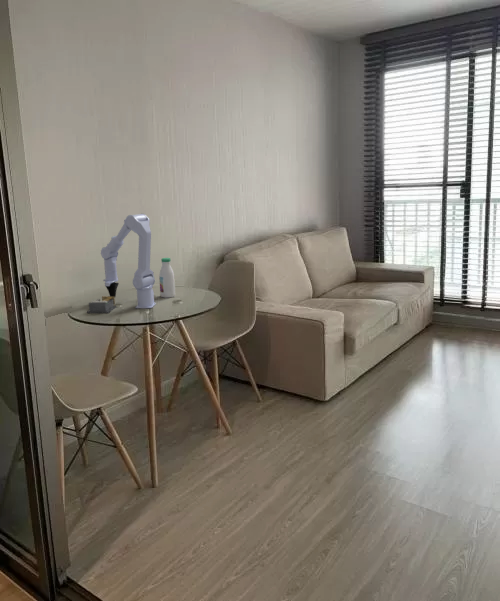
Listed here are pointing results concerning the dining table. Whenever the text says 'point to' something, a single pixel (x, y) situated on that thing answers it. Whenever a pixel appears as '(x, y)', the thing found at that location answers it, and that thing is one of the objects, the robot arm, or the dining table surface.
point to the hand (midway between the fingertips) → (112, 297)
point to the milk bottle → (166, 279)
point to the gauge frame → (101, 306)
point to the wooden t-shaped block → (108, 298)
